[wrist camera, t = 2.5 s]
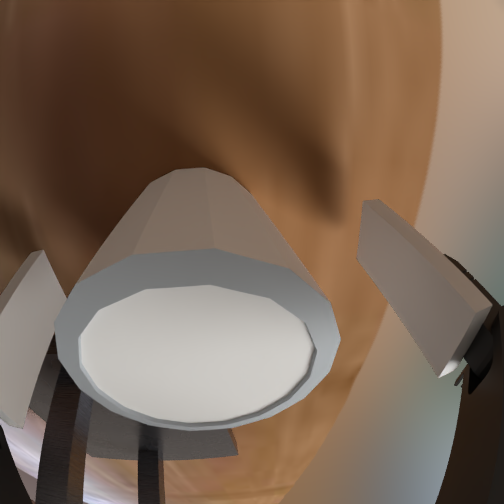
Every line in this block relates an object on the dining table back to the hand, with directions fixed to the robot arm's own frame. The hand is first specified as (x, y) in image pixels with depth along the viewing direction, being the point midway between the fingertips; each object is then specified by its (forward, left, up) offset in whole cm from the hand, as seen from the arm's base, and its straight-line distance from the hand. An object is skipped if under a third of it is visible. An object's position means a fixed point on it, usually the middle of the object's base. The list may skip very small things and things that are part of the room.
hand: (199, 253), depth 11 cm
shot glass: (0, 0, -2) cm, 2 cm away
